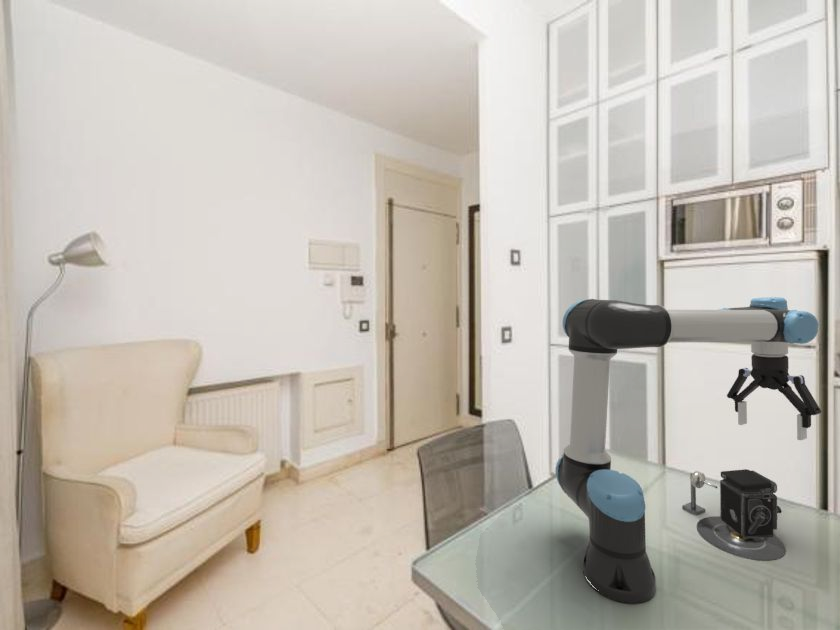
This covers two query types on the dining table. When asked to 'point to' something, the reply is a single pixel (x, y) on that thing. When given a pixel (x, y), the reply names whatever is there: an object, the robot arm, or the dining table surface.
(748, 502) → the camera
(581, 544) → the dining table surface
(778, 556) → the disc
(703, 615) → the dining table surface
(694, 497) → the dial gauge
